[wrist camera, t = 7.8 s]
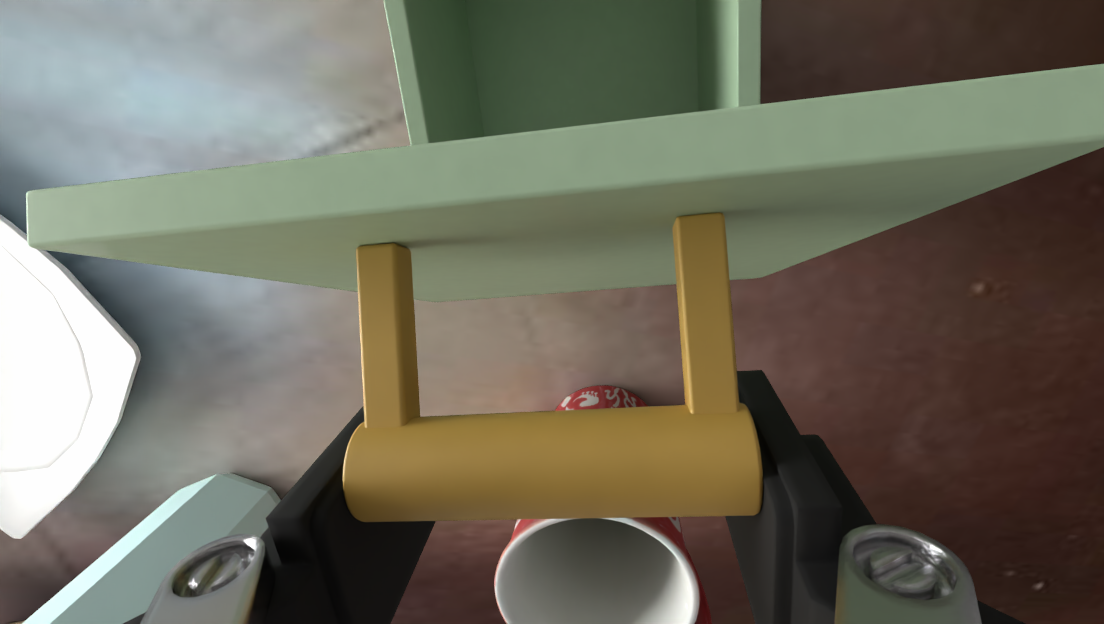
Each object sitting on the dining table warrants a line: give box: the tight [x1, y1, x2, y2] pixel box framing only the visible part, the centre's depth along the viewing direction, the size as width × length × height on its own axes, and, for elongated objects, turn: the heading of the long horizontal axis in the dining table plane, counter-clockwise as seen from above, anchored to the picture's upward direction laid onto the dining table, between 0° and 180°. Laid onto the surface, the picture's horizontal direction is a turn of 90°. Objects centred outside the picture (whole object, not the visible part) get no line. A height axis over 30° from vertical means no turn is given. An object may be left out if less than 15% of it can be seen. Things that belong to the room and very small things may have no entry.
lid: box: [26, 64, 1104, 522], centre depth 14 cm, size 15×13×5 cm
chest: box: [383, 0, 761, 145], centre depth 24 cm, size 15×13×10 cm
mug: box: [494, 385, 712, 624], centre depth 30 cm, size 13×9×14 cm
